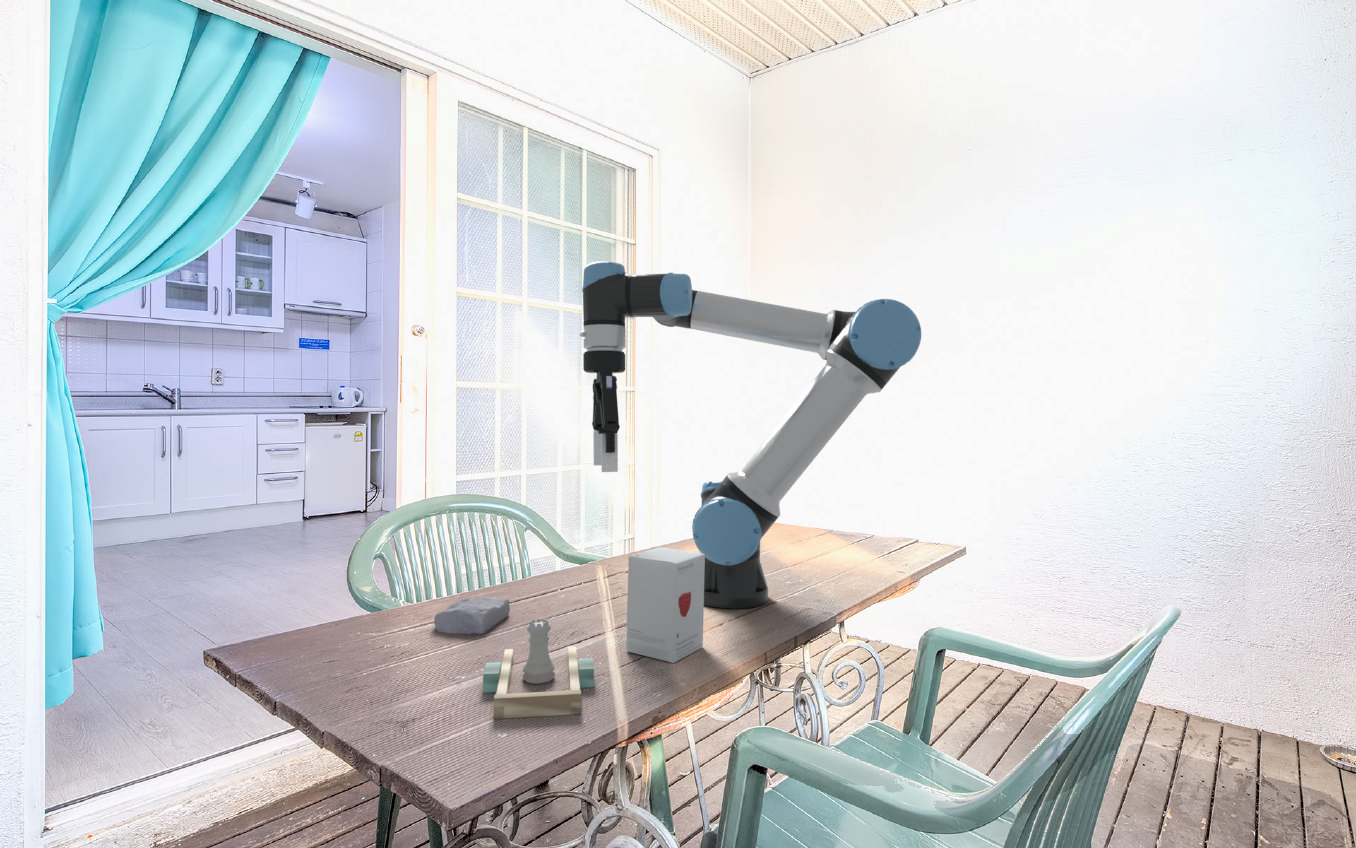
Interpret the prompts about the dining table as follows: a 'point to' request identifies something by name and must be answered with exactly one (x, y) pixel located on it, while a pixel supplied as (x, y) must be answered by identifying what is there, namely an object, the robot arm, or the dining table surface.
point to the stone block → (472, 615)
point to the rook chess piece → (538, 654)
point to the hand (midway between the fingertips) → (605, 468)
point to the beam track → (537, 701)
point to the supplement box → (665, 603)
